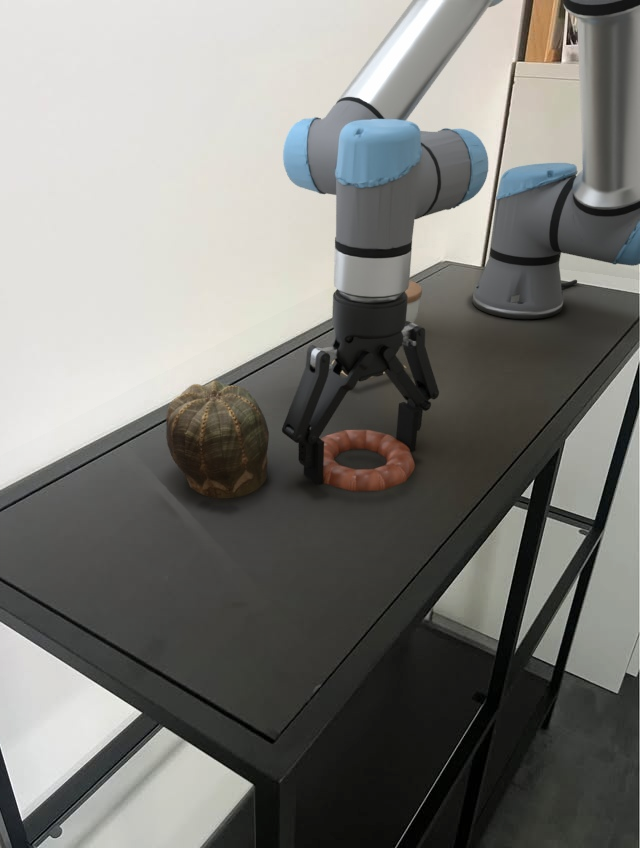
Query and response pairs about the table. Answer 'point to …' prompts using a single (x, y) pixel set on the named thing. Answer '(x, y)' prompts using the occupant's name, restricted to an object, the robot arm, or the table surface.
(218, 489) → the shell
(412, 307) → the trinket box
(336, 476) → the ring
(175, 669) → the table surface
